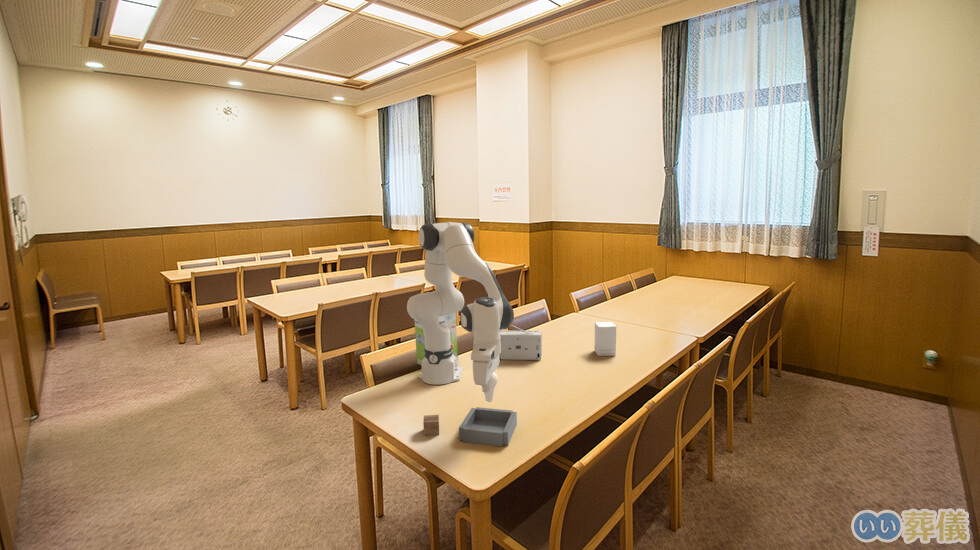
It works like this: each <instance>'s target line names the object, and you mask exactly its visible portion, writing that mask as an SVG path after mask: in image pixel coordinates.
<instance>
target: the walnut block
mask: <svg viewBox="0 0 980 550" xmlns="http://www.w3.org/2000/svg"><path fill="white" fill-rule="evenodd" d="M439 416H440V414H427V415H423V423H422V424H423V436H424V437H434V436H435V437H436V436H440V420H439V419H440V417H439Z"/></svg>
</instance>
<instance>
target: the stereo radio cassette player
mask: <svg viewBox="0 0 980 550" xmlns="http://www.w3.org/2000/svg"><path fill="white" fill-rule="evenodd" d="M510 326H512V327H513V328H516V329H518V330H499V334H500V339H501V353H500V354H499V358H500V360H502V359H503V360H516V361H517V360H518V361H540V360H541V359H542V356H543V332H542V331H541V330H523V329H521V328H519V327H517V326H515V325H513V324H511V325H510Z"/></svg>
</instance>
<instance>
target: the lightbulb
mask: <svg viewBox="0 0 980 550" xmlns="http://www.w3.org/2000/svg"><path fill="white" fill-rule="evenodd" d="M495 372H496V371H495ZM495 372H493V374H492V376H491V378H490V379H489V381H488V386H489V390H488V392H487V393H486V392H483V394H484V399H485V401H486V402H488V403H491V402H493V400H494V393H495V389H496V385H497V384H498V381H499V380H498V379H499V378H498V375H497V374H496V373H495ZM480 386H481V387H482V385H480Z"/></svg>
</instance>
